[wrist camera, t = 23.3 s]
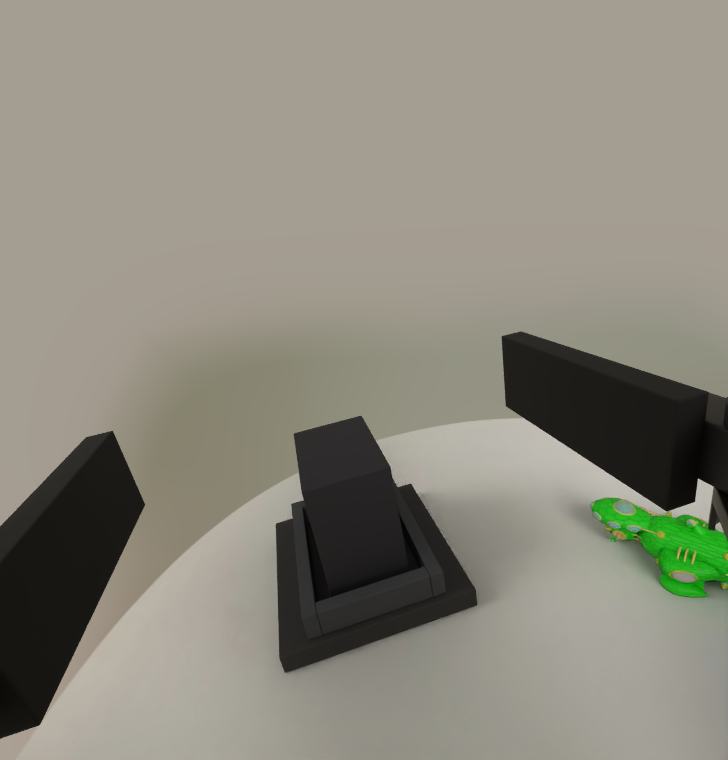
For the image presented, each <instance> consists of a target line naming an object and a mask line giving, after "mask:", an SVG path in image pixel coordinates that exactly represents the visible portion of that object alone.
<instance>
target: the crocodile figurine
mask: <svg viewBox="0 0 728 760" xmlns="http://www.w3.org/2000/svg"><path fill="white" fill-rule="evenodd" d="M590 508H591V509H592V512H593V516H594V517H595V518H596V519H597V520H599V521H601V522H602V523H604V524H605V525H607V526H606V527H605V530H608V531H610V532H611V534H613V535H612V538H613V539H612V538H608V539H610V540H611V541H612V540H613V541H615V542H616V541H618V540H619V539H621V540H633V539H636V540H638V541H640V542H641V544H642V546H643V547H644V549H645V550H646V551H647V552H648V553H649V554H650V555H652V556H653V557H655V562H656V564H657V565H658V564H659V566H660V568H661V570H662V572H663V574H662V575H661V576H660V581H661V584H662V585H663V587H664V588H666V589H667V590H668V591H670V592H672V593H674V594H676V595H680V596H687V597H703V596H708V595H707V594H706V593H705V592H704V585H705V581H710V580H716V581H719V582H720V584H722V585H721V586H722V587H721V588H723V590H724V589H726V588H728V587H727V586H728V541H727V538H726V536H725V533H722V532H719V531H717V530H716V529H715V531H712V530H708V523H707V522H706V521H704V520H702V519H699V518H696V517H693V516H690V515H681V516H679V517H677V518H672V515H671V514H672V513H670V512H667V513H666V514H667V515H666V514H665V516H663V515H659V514H656V513H653V512H649V511H647V510H646V509H644V508H642V507H638V506H636V505H634V504H632V503H630V502H629V501H627V500H622V499H619V498H603V499H600V500H597V501H595V502H591V504H590ZM651 514H655V515H656V516H651ZM636 537H637V538H640V540H639V539H637V538H636Z"/></svg>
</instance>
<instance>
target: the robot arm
mask: <svg viewBox="0 0 728 760" xmlns="http://www.w3.org/2000/svg"><path fill="white" fill-rule="evenodd" d="M502 347H503V348H502V349H503V366H504V382H505V399H506V406H507V407H508V408H510V409H511V410H513V411H514V412H516V413H517V414H519V415H520V416H522V417H523V418H525V419H526V420H528V421H529V422H531V423H532V424H534V425H536V426H537V427H539V428H540V429H542V430H543V431H545V432H546V433H548V434H549V435H551V436H552V437H554V438H555V439H557V440H558V441H560V442H561V443H563V444H564V445H566V446H568V447H569V448H571V449H572V450H574V451H575V452H577V453H578V454H580V455H581V456H583V457H584V458H586V459H587V460H589V461H590V462H592V463H593V464H595V465H597V466H598V467H600V468H601V469H603V470H604V471H606V472H607V473H609V474H610V475H612V476H613V477H615V478H616V479H618V480H619V481H621V482H622V483H624V484H626V485H627V486H629V487H630V488H632V489H633V490H635V491H636V492H638V493H639V494H641V495H642V496H644V497H645V498H647V499H648V500H650V501H651V502H653V503H655V504H656V505H658V506H659V507H661V508H662V509H664V510H665V511H670V510H672V509H675V508H678V507H681V506H684V505H687V504H690V503H693V502H695V497H696V489H697V481H698V478H699V479H700V480H702V481H704V482H706V483H708V484H710V485H712V486H714V489H713V496H712V502H711V509H710V516H709V523H708V530H712V531H715V525H716V524H717V523H719V522H720V523H721V526H722V528H723V531H724V533H725V536H726V538H727V541H728V397H727V398H724V397H720V396H718V395H715V394H711V393H709V392H707V391H704V390H700V389H697V388H694V387H691V386H688V385H685V384H682V383H679V382H676V381H673V380H669V379H666V378H663V377H660V376H657V375H654V374H651V373H648V372H645V371H641V370H639V369H635V368H632V367H629V366H626V365H623V364H620V363H617V362H614V361H611V360H608V359H604V358H601V357H598V356H595V355H592V354H589V353H586V352H582V351H580V350H576V349H574V348H570V347H567V346H564V345H561V344H558V343H555V342H552V341H549V340H546V339H543V338H539V337H536V336H533V335H530V334H527V333H524V332H518V333H513V334H509V335H505V336H502ZM144 506H145V504H144V501H143V499H142V497H141V494H140V492H139V490H138V487H137V485H136V483H135V481H134V478H133V476H132V474H131V471H130V469H129V467H128V465H127V462H126V460H125V458H124V455H123V453H122V451H121V449H120V446H119V444H118V442H117V440H116V437H115V435H114V433H113V431H111V432H106V433H102V434H98V435H94V436H90V437H86V438H85V439H84V440H83V441H82V442H81V443H80V445H78V446H77V447H76V448H75V449H74V451H72V452H71V454H70V455H69V456H68V457H67V458H66V459H65V460H64V461H63V462H62V463H61V464H60V465H59V466H58V467H57V468H56V469H55V470H54V471H53V472H52V473H51V474H50V475H49V476H48V477H47V478H46V480H45V481H44V482H43V483H42V484H41V485H40V486H39V487H38V488H37V489H36V490H35V491H34V492H33V493H32V494H31V495H30V496H29V497H28V498H27V499H26V500H25V501H24V502H23V503H22V504H21V506H20V507H19V508H18V509H17V510H16V511H15V512H14V513H13V514H12V515H11V516H10V517H9V518H8V519H7V520H6V521H5V522H4V523H3V524H2V525H1V526H0V738H3V737H6V736H9V735H12V734H15V733H18V732H21V731H24V730H27V729H30V728H33V727H36V726H39V725H40V724H41V722H42V720H43V718H44V715H45V713H46V711H47V709H48V707H49V705H50V703H51V701H52V698H53V696H54V694H55V692H56V690H57V688H58V686H59V684H60V682H61V680H62V678H63V676H64V673H65V671H66V669H67V667H68V665H69V663H70V661H71V659H72V657H73V655H74V652H75V650H76V648H77V646H78V644H79V642H80V640H81V638H82V636H83V634H84V631H85V629H86V627H87V625H88V623H89V621H90V619H91V617H92V615H93V613H94V611H95V609H96V606H97V604H98V602H99V600H100V598H101V596H102V594H103V592H104V590H105V588H106V585H107V583H108V581H109V579H110V577H111V575H112V573H113V571H114V569H115V566H116V564H117V562H118V560H119V558H120V556H121V554H122V552H123V550H124V547H125V546H126V543H127V541H128V539H129V537H130V535H131V533H132V531H133V529H134V527H135V525H136V522H137V520H138V518H139V516H140V514H141V512H142V510H143V508H144Z"/></svg>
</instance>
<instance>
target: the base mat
mask: <svg viewBox="0 0 728 760" xmlns="http://www.w3.org/2000/svg"><path fill="white" fill-rule="evenodd" d="M392 479H393V478H392ZM393 485H394V490H395V495H396V501H397V506H398V511H399V517H400V522H401V528H402V533H403V538H404V544H405V549H406V555H407V560H408V565H409V572H406V573H403V574H400V575H397V576H394V577H391V578H388V579H385V580H382V581H379V582H376V583H373V584H370V585H367V586H364V587H360V588H357V589H354V590H351V591H348V592H345V593H342V594H339V595H336V596H333V597H331V595H330V591H329V588H328V584H327V581H326V577H325V574H324V570H323V566H322V563H321V559H320V556H319V552H318V549H317V545H316V541H315V538H314V534H313V531H312V527H311V523H310V520H309V516H308V513H307V509H306V506H305V502H304V501H300V502H296V503H293V504H291V505H292V516H293V519H290V520H287V521H283V522H280V523H277V524H276V545H277V582H278V620H279V658H280V660H281V663H282V666H283V669H284V671H285V672H289V671H292V670H294V669H297V668H300V667H303V666H306V665H309V664H311V663H314V662H317V661H320V660H323V659H325V658H328V657H331V656H334V655H337V654H340V653H342V652H345V651H348V650H351V649H354V648H357V647H359V646H362V645H365V644H368V643H371V642H374V641H376V640H379V639H382V638H385V637H388V636H390V635H393V634H396V633H399V632H402V631H405V630H407V629H410V628H413V627H416V626H419V625H422V624H424V623H427V622H430V621H433V620H436V619H439V618H441V617H444V616H447V615H450V614H453V613H455V612H458V611H461V610H464V609H467V608H470V607H472V606H475V605H477V598H476V590H475V588H474V586H473V585H472V583H471V581H470V580H469V578H468V576H467V575H466V573H465V572H464V570H463V568H462V567H461V565H460V563H459V562H458V560H457V558H456V557H455V555H454V553H453V552H452V550H451V549H450V547H449V545H448V544H447V542H446V540H445V539H444V537H443V535H442V534H441V532H440V531H439V529H438V527H437V526H436V524H435V522H434V521H433V519H432V517H431V516H430V514H429V513H428V511H427V509H426V508H425V506H424V504H423V503H422V501H421V499H420V498H419V496H418V495H417V493H416V491H415V490H414V488H413V486H412V485H411V484H408V485H405V486H401V487H398V488H397V486H396V484H395V482H394V480H393Z"/></svg>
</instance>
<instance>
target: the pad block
mask: <svg viewBox="0 0 728 760" xmlns="http://www.w3.org/2000/svg"><path fill="white" fill-rule="evenodd" d="M294 439H295V446H296V454H297V461H298V468H299V476H300V483H301V490H302V495H303V498H304V502H305V506H306V509H307V513H308V516H309V520H310V523H311V527H312V531H313V534H314V538H315V541H316V545H317V549H318V552H319V556H320V559H321V563H322V566H323V570H324V574H325V577H326V581H327V584H328V588H329V591H330V595H331V597H333V596H336V595H339V594H342V593H345V592H348V591H351V590H354V589H357V588H360V587H364V586H367V585H370V584H373V583H376V582H379V581H382V580H385V579H388V578H391V577H394V576H397V575H400V574H403V573H406V572H409V565H408V560H407V555H406V549H405V544H404V538H403V533H402V528H401V522H400V517H399V511H398V506H397V501H396V495H395V490H394V485H393V479H392V474H391V468H390V466H389V464H388V462H387V460H386V459H385V457H384V455H383V453H382V451H381V450H380V448H379V446H378V444H377V443H376V441H375V439H374V437H373V435H372V434H371V432H370V430H369V428H368V427H367V425H366V423H365V422H364V419H363V418H362V416H358V417H355V418H351V419H347V420H343V421H339V422H336V423H332V424H328V425H325V426H320V427H317V428H313V429H309V430H305V431H302V432H298V433H295V434H294Z"/></svg>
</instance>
